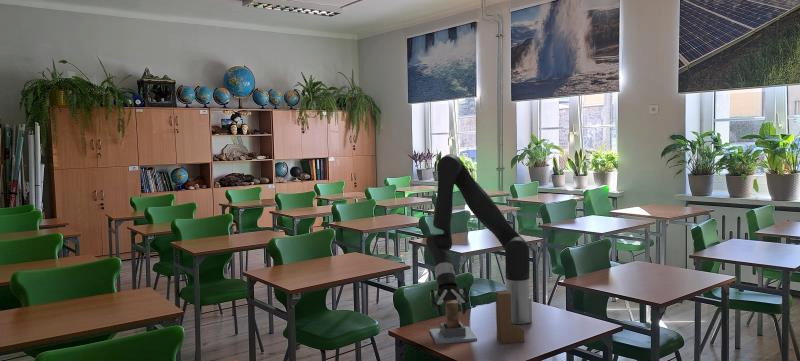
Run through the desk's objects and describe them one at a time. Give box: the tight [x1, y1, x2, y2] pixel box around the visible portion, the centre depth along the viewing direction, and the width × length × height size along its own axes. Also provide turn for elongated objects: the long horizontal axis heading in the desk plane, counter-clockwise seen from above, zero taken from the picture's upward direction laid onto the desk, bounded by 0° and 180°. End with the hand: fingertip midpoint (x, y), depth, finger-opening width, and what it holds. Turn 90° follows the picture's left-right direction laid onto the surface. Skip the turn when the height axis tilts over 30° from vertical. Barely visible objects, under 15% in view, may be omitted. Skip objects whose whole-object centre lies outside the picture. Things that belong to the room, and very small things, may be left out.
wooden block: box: [495, 290, 525, 345], centre depth 211 cm, size 9×4×18 cm, turn 97°
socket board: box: [429, 321, 478, 345], centre depth 220 cm, size 15×14×4 cm
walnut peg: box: [444, 300, 459, 329], centre depth 219 cm, size 4×4×12 cm
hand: (452, 314), depth 219 cm, fingers open, 8 cm apart
